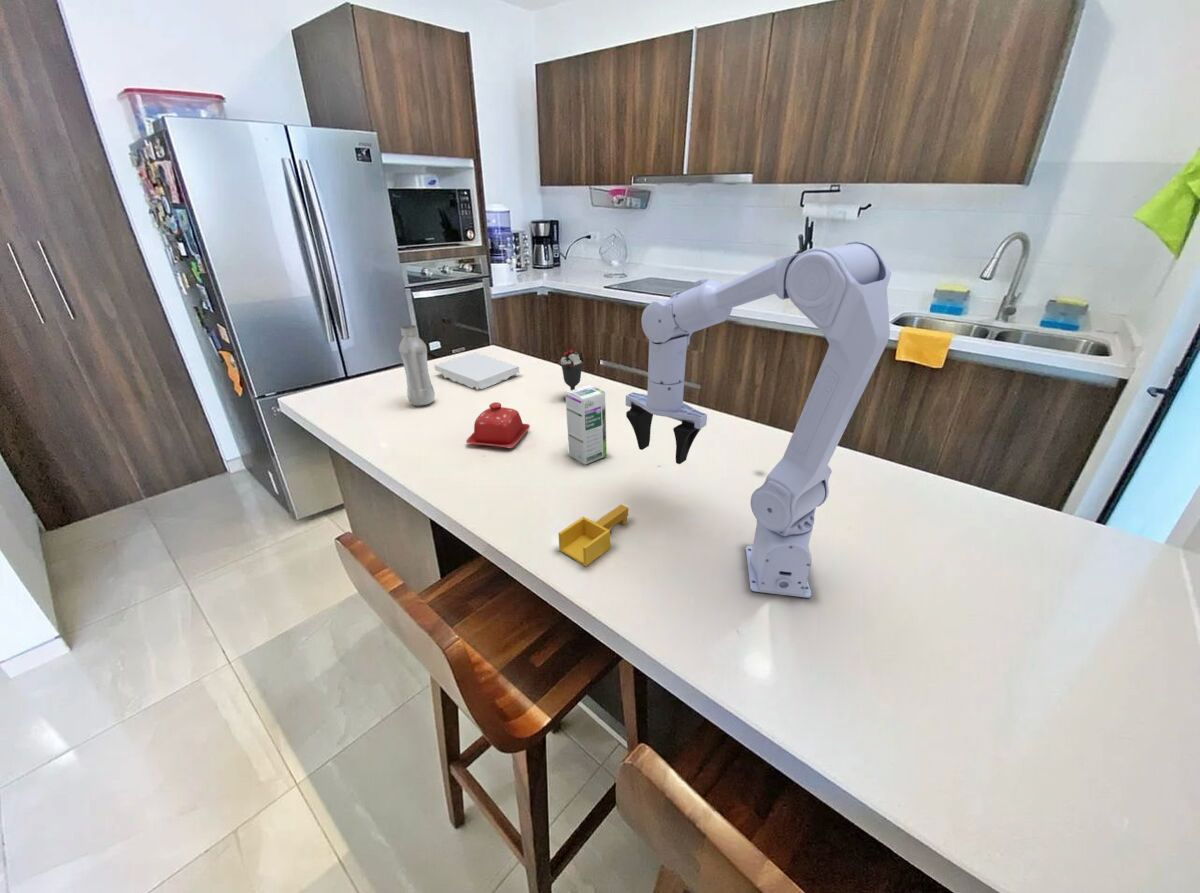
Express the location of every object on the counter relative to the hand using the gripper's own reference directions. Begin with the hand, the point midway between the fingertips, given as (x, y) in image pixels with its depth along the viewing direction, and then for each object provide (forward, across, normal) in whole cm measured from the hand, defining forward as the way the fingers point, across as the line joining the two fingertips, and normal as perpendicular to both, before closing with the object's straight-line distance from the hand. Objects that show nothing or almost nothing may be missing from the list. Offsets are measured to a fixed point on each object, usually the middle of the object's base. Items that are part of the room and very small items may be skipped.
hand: (662, 454), depth 84 cm
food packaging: (+10, +79, -19) cm, 82 cm away
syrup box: (+10, +21, -4) cm, 23 cm away
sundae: (+10, +45, -24) cm, 52 cm away
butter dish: (+10, +42, +3) cm, 43 cm away
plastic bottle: (+10, +73, +3) cm, 74 cm away
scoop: (+9, +1, +15) cm, 18 cm away
